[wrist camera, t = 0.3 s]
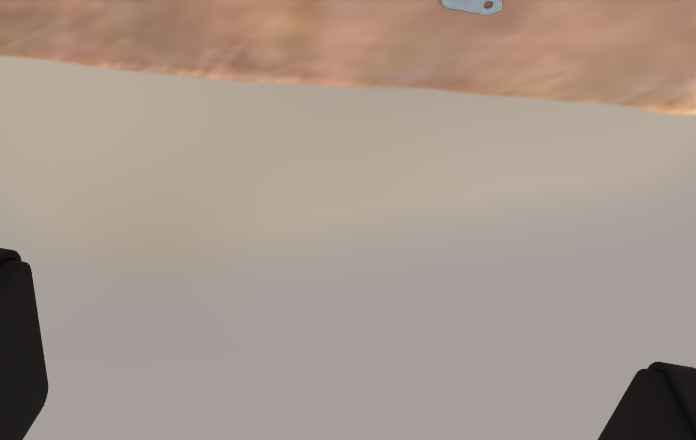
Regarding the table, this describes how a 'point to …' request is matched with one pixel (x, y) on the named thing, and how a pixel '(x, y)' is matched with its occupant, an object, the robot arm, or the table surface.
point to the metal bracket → (473, 5)
